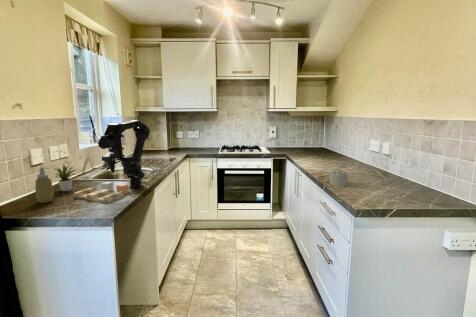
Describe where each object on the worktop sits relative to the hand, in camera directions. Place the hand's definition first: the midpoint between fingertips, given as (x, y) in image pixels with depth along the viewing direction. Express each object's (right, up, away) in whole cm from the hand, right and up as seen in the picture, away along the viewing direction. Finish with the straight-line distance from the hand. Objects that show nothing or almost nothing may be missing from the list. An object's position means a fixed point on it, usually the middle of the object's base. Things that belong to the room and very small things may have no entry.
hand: (119, 173), depth 156 cm
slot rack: (-9, -13, -5) cm, 16 cm away
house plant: (-36, -11, +9) cm, 38 cm away
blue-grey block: (-10, -11, +8) cm, 17 cm away
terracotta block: (+1, -12, +3) cm, 12 cm away
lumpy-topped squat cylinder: (+133, -8, +23) cm, 135 cm away
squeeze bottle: (-34, -14, -11) cm, 38 cm away
